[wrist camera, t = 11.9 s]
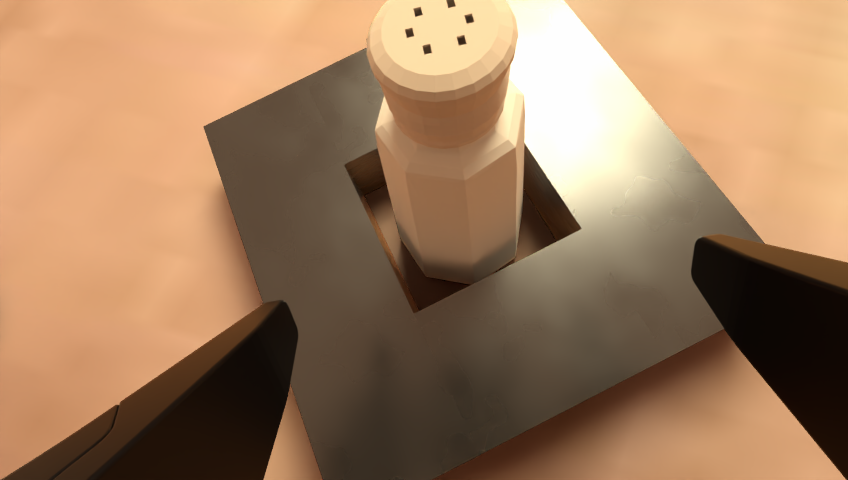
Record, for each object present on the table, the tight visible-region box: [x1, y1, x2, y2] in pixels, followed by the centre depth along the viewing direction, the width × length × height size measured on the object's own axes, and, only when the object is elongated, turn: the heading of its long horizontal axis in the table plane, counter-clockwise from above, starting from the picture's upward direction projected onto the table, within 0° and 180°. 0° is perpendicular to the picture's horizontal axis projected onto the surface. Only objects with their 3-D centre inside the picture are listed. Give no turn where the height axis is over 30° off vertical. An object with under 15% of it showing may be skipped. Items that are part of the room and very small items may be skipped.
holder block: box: [204, 0, 765, 480], centre depth 16 cm, size 16×16×3 cm
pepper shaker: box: [366, 0, 525, 285], centre depth 12 cm, size 5×5×11 cm
